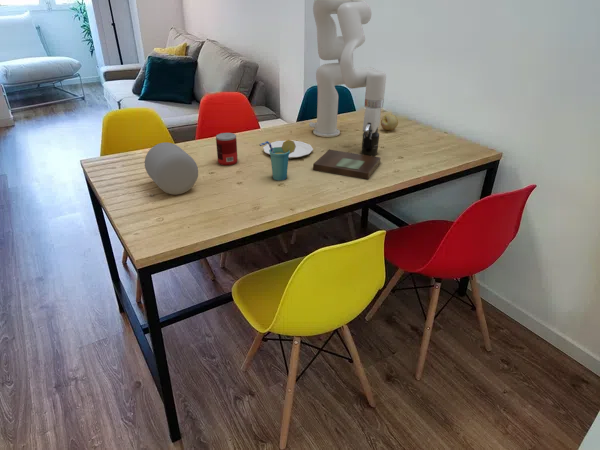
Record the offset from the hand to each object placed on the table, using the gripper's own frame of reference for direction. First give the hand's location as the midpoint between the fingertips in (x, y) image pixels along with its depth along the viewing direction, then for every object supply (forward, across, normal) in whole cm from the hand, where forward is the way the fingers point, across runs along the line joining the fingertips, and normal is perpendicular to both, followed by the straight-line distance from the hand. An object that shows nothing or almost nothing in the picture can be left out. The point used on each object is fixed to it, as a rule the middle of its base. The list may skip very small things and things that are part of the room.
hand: (370, 144), depth 189 cm
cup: (+4, +40, -24) cm, 47 cm away
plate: (+4, +13, -32) cm, 35 cm away
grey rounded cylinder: (+4, +62, -58) cm, 85 cm away
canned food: (+4, +34, -49) cm, 60 cm away
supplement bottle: (+4, 0, 0) cm, 4 cm away
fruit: (+4, -35, 0) cm, 35 cm away
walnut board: (+4, +18, -4) cm, 19 cm away
